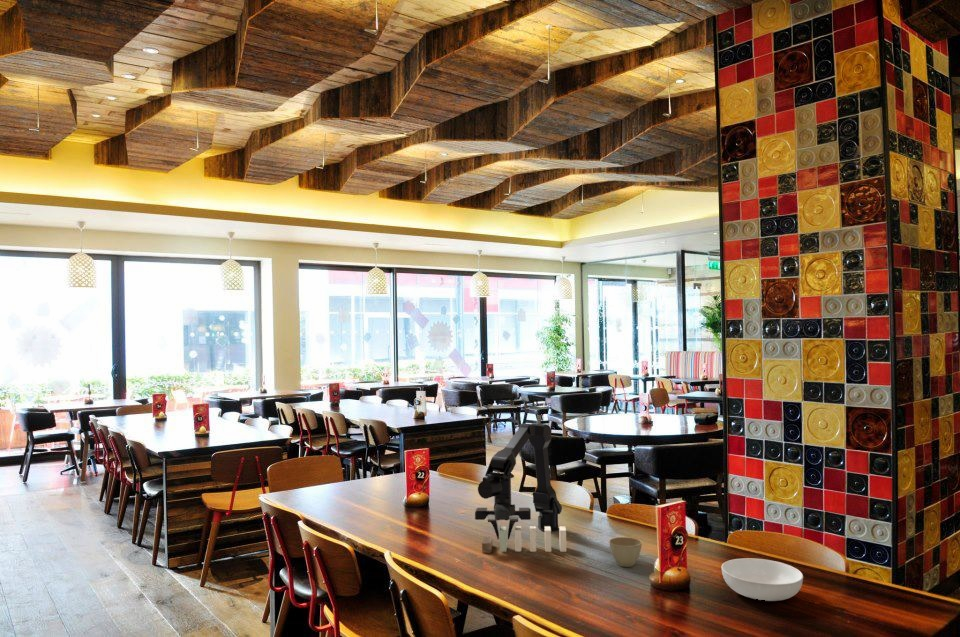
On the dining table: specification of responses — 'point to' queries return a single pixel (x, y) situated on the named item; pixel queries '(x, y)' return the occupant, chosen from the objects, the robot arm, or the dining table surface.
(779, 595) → the serving bowl
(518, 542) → the domino
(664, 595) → the dining table surface
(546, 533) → the domino
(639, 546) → the flower pot
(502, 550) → the domino sage
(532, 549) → the domino
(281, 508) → the dining table surface
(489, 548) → the end block
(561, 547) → the domino
